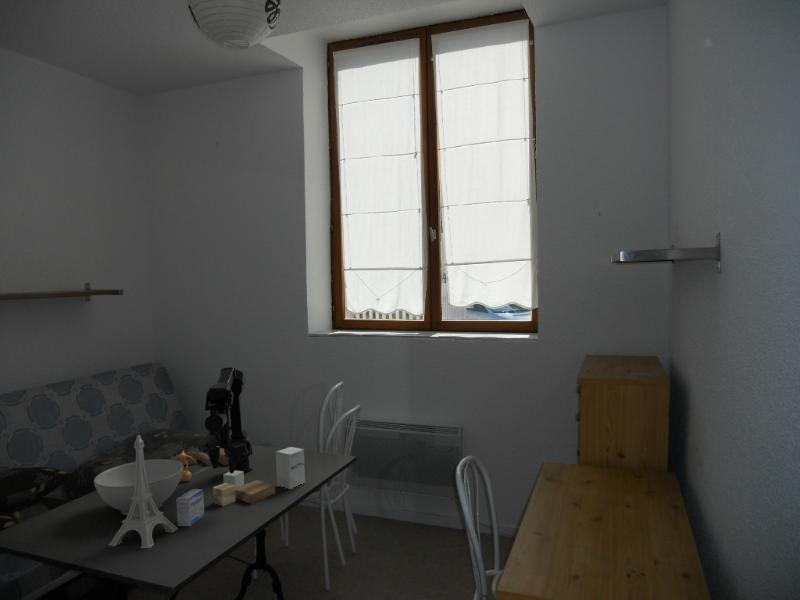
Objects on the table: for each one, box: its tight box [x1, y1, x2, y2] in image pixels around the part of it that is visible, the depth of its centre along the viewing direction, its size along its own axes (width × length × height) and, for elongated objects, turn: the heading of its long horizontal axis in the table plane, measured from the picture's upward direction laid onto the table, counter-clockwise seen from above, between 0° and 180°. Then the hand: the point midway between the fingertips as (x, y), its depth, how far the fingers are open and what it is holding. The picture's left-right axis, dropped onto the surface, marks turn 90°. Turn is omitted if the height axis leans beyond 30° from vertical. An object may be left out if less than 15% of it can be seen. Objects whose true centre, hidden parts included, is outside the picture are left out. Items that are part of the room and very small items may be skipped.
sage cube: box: [222, 470, 245, 488], centre depth 204 cm, size 5×5×5 cm
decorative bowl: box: [93, 458, 184, 516], centre depth 187 cm, size 27×27×12 cm
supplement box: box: [275, 446, 306, 490], centre depth 203 cm, size 7×7×13 cm
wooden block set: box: [179, 448, 229, 467], centre depth 232 cm, size 17×6×18 cm
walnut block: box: [235, 479, 276, 505], centre depth 194 cm, size 10×10×4 cm
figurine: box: [172, 450, 195, 483], centre depth 211 cm, size 8×6×12 cm
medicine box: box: [175, 488, 205, 527], centre depth 175 cm, size 8×4×9 cm, turn 168°
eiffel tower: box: [108, 434, 179, 549], centre depth 165 cm, size 13×13×30 cm
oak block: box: [212, 482, 237, 507], centre depth 190 cm, size 5×5×6 cm
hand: (223, 470), depth 189 cm, fingers open, 9 cm apart
